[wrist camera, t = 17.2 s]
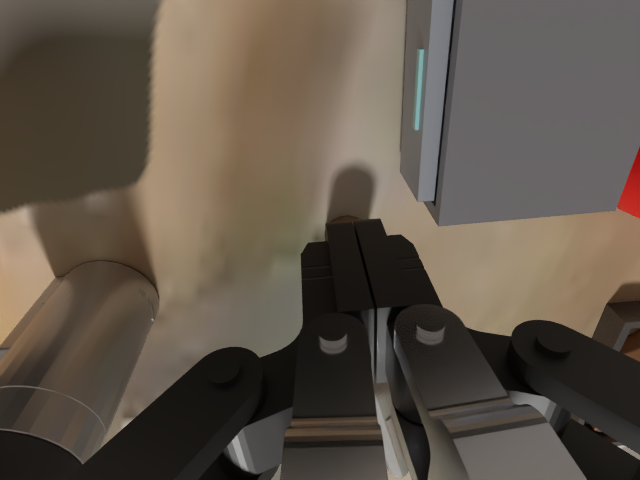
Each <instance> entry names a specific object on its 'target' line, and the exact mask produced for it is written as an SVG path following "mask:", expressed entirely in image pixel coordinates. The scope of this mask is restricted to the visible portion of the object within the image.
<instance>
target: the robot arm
mask: <svg viewBox="0 0 640 480" xmlns="http://www.w3.org/2000/svg"><path fill="white" fill-rule="evenodd" d="M325 225H326V241H324V242H312V243H308V244H307V246H306V247H305V249H304V250H303V252H302V253H301V274H302V304H303V326H302V328H301V330H300V333H299V335H298V336H297V338H296V339H295V340H294V341H293V342H292V343H290V344H289V345H288V346H286V347H285V348H283V349H281V350H279V351H277V352H274V353H271V354H269V355H266V356H263V357H261V358H259V357H258V356H257V355H256V354H255V353H254V352H252V351H251V350H248V349H246V348H242V347H227V348H222V349H219V350H216V351H214V352H212V353H210V354H208V355H207V356H205V357H204V358H203V359H201V360H200V361H199V362H198V363H197V364H195V365H194V366H193V367H192V368H191V369H190V370H189V371H188V372H186V373H185V374H184V375H183V376H182V377H181V378H180V379H179V380H177V381H176V382H175V383H174V384H173V385H172V386H171V387H170V388H168V389H167V390H166V391H165V392H164V393H163V394H162V395H160V396H159V397H158V398H157V399H156V400H155V401H154V402H153V403H151V404H150V405H149V406H148V407H147V408H146V409H145V410H144V411H142V412H141V413H140V414H139V415H138V416H137V417H136V418H135V419H133V420H132V421H131V422H130V423H129V424H128V425H127V426H125V427H124V428H123V429H122V430H121V431H120V432H119V433H118V434H116V435H115V436H114V437H113V438H112V439H111V440H110V441H109V442H107V443H106V444H105V445H104V446H103V443H104V440H105V438H106V436H107V433H108V431H109V428H110V426H111V423H112V421H113V419H114V416H115V414H116V411H117V409H118V406H119V404H120V402H121V399H122V397H123V394H124V392H125V389H126V387H127V385H128V382H129V380H130V377H131V375H132V372H133V370H134V368H135V365H136V363H137V360H138V358H139V355H140V353H141V351H142V348H143V346H144V343H145V341H146V339H147V336H148V334H149V331H150V329H151V326H152V324H153V322H154V320H155V316H156V314H157V311H158V308H159V298H158V294H157V292H156V290H155V288H154V286H153V285H152V284H151V283H150V282H149V280H148V279H147V278H145V277H144V276H143V275H142V274H141V273H139V272H137V271H135V270H134V269H132V268H130V267H127V266H125V265H122V264H119V263H114V262H109V261H93V262H87V263H84V264H81V265H79V266H77V267H75V268H73V269H72V270H71V271H70V272H69V273H68V274H67V275H66V276H64V277H57V278H55V279H54V280H53V281H52V282H51V284H50V285H49V286H48V287H47V289H46V290H45V291H44V292H43V293H42V295H41V296H40V297H39V298H38V300H37V301H36V302H35V303H34V305H33V306H32V307H31V308H30V310H29V311H28V312H27V313H26V314H25V316H24V317H23V318H22V319H21V321H20V322H19V323H18V324H17V326H16V327H15V328H14V329H13V331H12V332H11V333H10V334H9V335H8V337H7V338H6V339H5V340H4V342H3V343H2V344H1V345H0V480H271V479H272V477H273V476H274V474H275V473H276V471H277V469H278V467H279V465H280V464H281V474H280V480H388V476H387V468H386V459H385V451H384V443H383V436H382V430H381V426H380V424H378V419H377V411H376V402H375V394H374V385H373V384H374V374H375V379H376V383H384V382H388V385H389V389H390V393H391V415H392V419H393V422H394V425H395V428H396V431H397V434H398V438H399V441H400V444H401V447H402V450H403V453H404V457H405V460H406V463H407V466H408V469H409V472H410V476H411V479H412V480H640V460H639V459H637V458H635V457H634V456H632V455H630V454H629V453H627V452H626V451H624V450H622V449H621V448H619V447H617V446H616V445H614V444H613V443H611V442H609V441H608V440H606V439H604V438H603V437H601V436H600V435H598V434H596V433H595V432H593V431H591V430H590V429H588V428H587V427H585V426H583V425H582V424H580V423H578V422H577V421H575V420H574V419H572V418H571V417H572V415H573V414H574V415H576V416H577V417H579V418H580V419H582V420H584V421H585V422H587V423H589V424H590V425H592V426H594V427H595V428H597V429H599V430H600V431H602V432H603V433H605V434H607V435H608V436H610V437H612V438H613V439H615V440H617V441H618V442H620V443H622V444H623V445H625V446H627V447H628V448H630V449H631V450H633V451H635V452H637V453H638V454H640V362H639V361H637V360H635V359H633V358H631V357H629V356H627V355H625V354H623V353H621V352H618V351H616V350H614V349H612V348H610V347H608V346H606V345H604V344H602V343H600V342H598V341H596V340H593V339H591V338H589V337H587V336H585V335H583V334H581V333H579V332H577V331H575V330H573V329H571V328H568V327H566V326H564V325H561V324H558V323H555V322H551V321H545V320H531V321H526V322H523V323H521V324H519V325H518V326H517V327H515V329H514V330H513V332H512V336H504V335H498V334H491V333H485V332H480V331H475V330H472V329H469V328H467V327H465V325H464V324H463V322H462V321H461V319H460V318H459V317H458V316H457V315H456V314H454V313H453V312H451V311H450V310H448V309H446V308H443V306H442V304H441V302H440V300H439V298H438V296H437V294H436V292H435V289H434V287H433V285H432V283H431V281H430V279H429V277H428V274H427V272H426V270H425V269H424V266H423V264H422V262H421V260H420V259H419V255H418V253H417V251H416V249H415V247H414V245H413V244H412V243H411V242H410V241H408V240H407V239H406V238H405V237H403V236H402V235H390V236H387V235H386V232H385V230H384V227H383V224H382V222H381V219H368V220H357V221H353V224H352V221H347V222H335V223H326V224H325ZM102 446H103V447H102Z"/></svg>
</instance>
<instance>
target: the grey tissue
mask: <svg viewBox="0 0 640 480" xmlns="http://www.w3.org/2000/svg"><path fill="white" fill-rule="evenodd" d="M373 385H374V394H375V402H376V411H377V419H378V424H380V426H381V430H382V436H383V443H384V451H385V459H386V467H387V469H388V471H389V472H390V474H391V475H392V476H394V477H400V478H403V477H404V476H405V475H406V474H407V473H408V471H409V469H408V466H407V463H406V460H405V457H404V453H403V450H402V447H401V444H400V441H399V438H398V434H397V431H396V428H395V425H394V422H393V419H392V415H391V393H390V389H389V385H388V382H384V383H376V379H375V374H374V384H373Z"/></svg>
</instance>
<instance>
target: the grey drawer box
mask: <svg viewBox="0 0 640 480" xmlns="http://www.w3.org/2000/svg"><path fill="white" fill-rule="evenodd" d="M455 9H456V0H408V4H407V26H406V49H405V71H404V94H403V116H402V139H401V161H400V172H401V174H402V176H403V178H404V179H405V181H406V183H407V185H408V186H409V188H410V190H411V191H412V193H413V195H414V197H415V198H416V200H417V202H422V201H434V195H435V185H436V176H439V167H440V157H441V147H442V137H443V127H444V117H445V108H444V107H443V103H444V93H445V83H446V73H447V63H448V52H449V48H450V47H451V45H452V38H453V29H454V19H455Z"/></svg>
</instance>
